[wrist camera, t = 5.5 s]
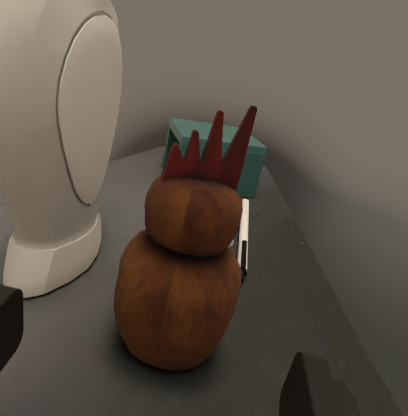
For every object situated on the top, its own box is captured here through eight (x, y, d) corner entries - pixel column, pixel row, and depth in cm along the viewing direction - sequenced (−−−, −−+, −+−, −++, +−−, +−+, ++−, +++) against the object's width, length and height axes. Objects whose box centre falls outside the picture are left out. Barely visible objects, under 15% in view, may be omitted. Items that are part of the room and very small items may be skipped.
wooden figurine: (225, 330, 25) (288, 108, 19) (211, 402, 20) (291, 127, 14) (131, 303, 26) (163, 80, 19) (93, 365, 20) (119, 87, 14)
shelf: (173, 190, 46) (182, 136, 43) (162, 164, 54) (169, 117, 51) (253, 198, 49) (267, 147, 46) (231, 171, 57) (242, 127, 55)
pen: (234, 284, 30) (237, 273, 29) (241, 199, 47) (243, 191, 47) (245, 287, 30) (248, 275, 29) (248, 200, 47) (250, 193, 47)
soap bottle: (49, 212, 35) (56, -107, 25) (124, 234, 34) (163, -89, 24) (-76, 289, 23) (-155, -257, 13) (35, 326, 22) (38, -235, 12)
